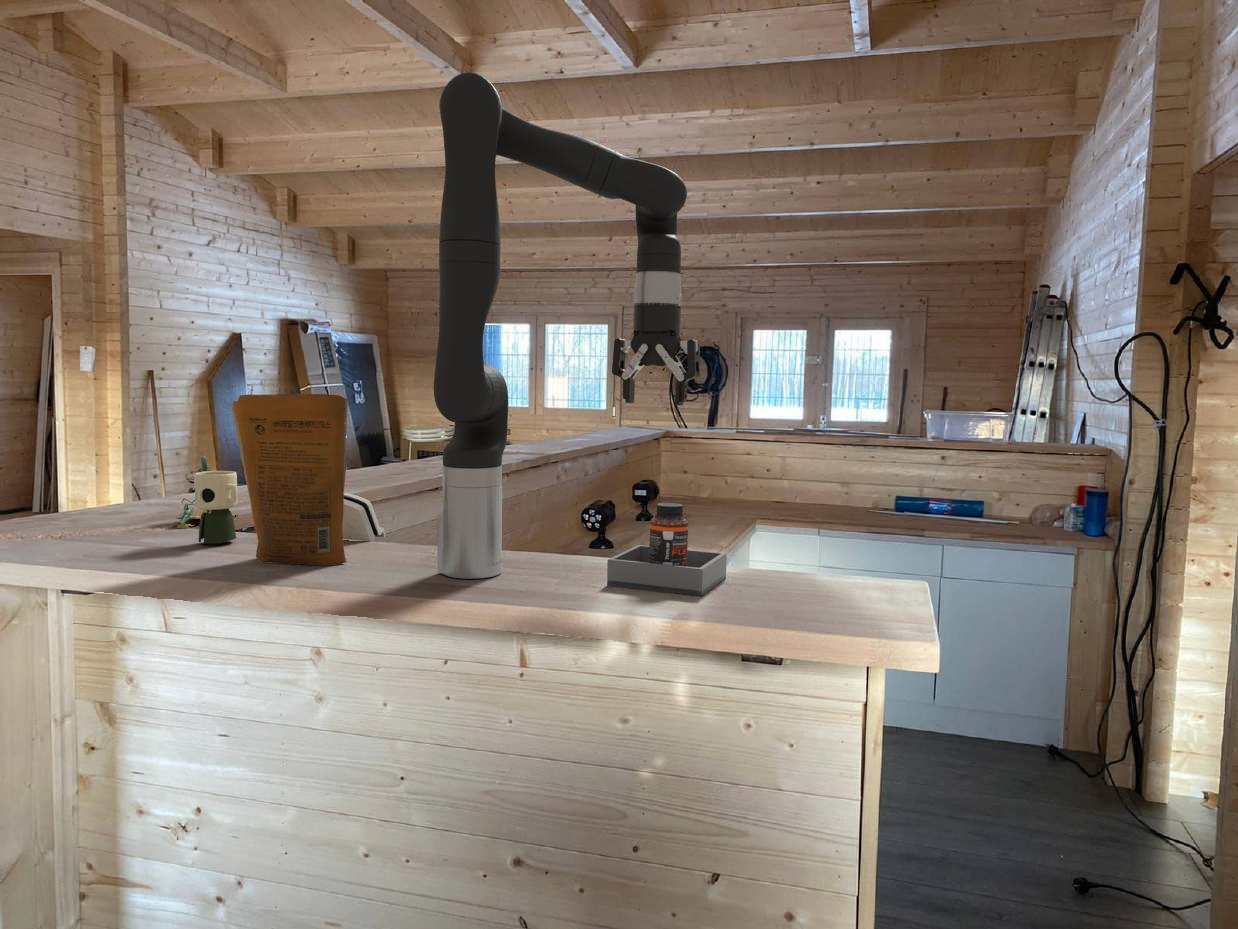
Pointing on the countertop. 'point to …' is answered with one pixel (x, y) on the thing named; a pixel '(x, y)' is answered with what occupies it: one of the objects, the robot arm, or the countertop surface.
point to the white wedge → (360, 519)
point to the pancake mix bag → (295, 474)
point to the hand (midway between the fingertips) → (654, 404)
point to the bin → (667, 572)
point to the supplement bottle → (668, 535)
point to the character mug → (216, 505)
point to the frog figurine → (188, 512)
